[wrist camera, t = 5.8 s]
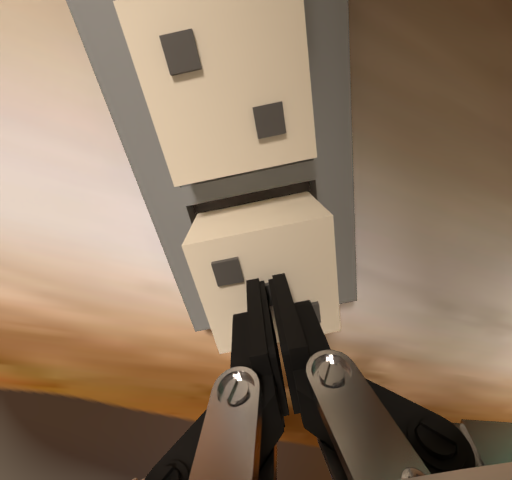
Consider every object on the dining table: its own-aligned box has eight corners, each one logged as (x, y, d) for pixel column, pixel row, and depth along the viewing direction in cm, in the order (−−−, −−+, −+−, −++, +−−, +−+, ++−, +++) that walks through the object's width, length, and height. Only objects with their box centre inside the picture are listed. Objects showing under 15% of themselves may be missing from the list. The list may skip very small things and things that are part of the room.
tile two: (153, 41, 12) (109, -3, 8) (280, 12, 11) (301, -46, 8) (191, 171, 14) (173, 188, 10) (296, 149, 14) (318, 157, 10)
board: (198, 316, 18) (195, 331, 17) (-47, -346, 8) (-111, -452, 6) (348, 287, 18) (356, 300, 17) (314, -444, 7) (331, -576, 6)
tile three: (197, 213, 13) (180, 247, 10) (307, 191, 13) (335, 216, 9) (224, 302, 16) (219, 357, 12) (317, 284, 16) (342, 333, 12)
